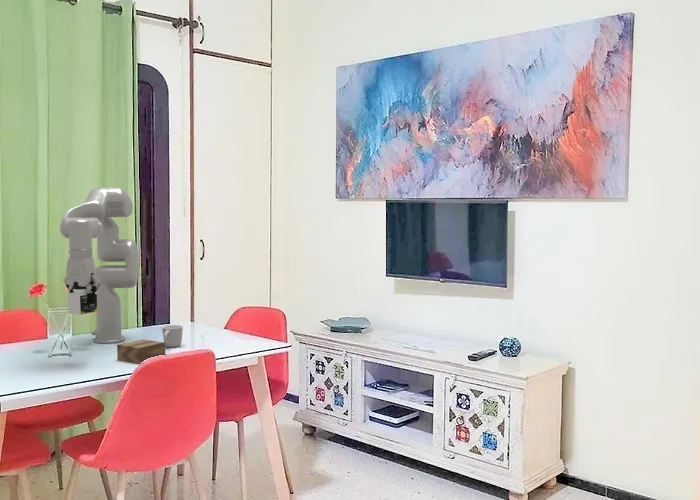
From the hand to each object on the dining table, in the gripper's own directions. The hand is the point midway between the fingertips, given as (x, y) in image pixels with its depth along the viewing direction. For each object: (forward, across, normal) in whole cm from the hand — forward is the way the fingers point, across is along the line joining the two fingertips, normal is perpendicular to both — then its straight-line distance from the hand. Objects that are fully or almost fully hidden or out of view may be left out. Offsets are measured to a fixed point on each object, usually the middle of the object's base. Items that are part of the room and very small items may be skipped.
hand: (82, 302), depth 249 cm
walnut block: (+22, +15, +13) cm, 30 cm away
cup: (+23, +11, +35) cm, 43 cm away
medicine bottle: (+4, 0, 0) cm, 4 cm away
